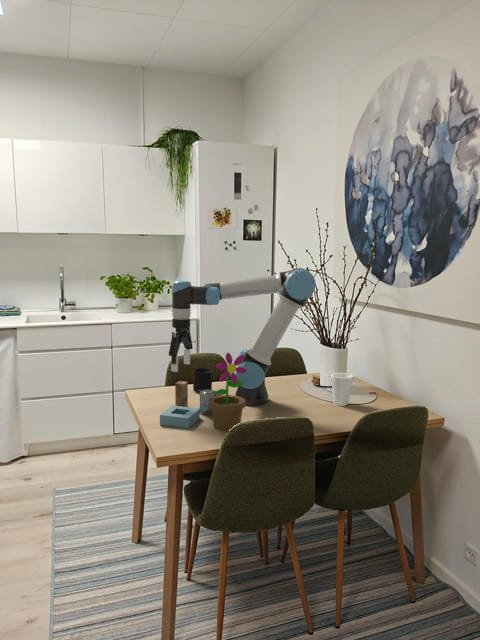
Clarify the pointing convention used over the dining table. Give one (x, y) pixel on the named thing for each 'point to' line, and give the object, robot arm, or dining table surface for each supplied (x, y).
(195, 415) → the bore block
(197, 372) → the pen holder
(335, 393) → the foam cup
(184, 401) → the square peg
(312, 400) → the dining table surface
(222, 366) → the flowerpot
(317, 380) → the toy sandwich meal
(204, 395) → the round peg
